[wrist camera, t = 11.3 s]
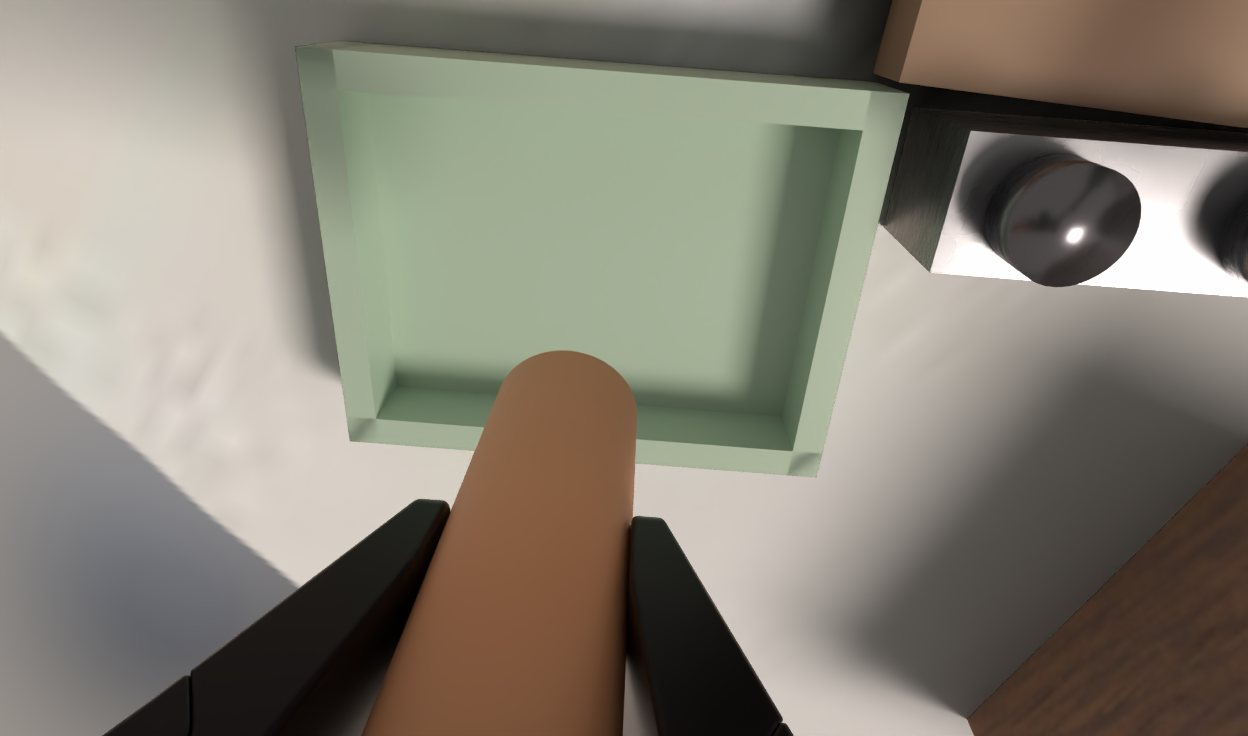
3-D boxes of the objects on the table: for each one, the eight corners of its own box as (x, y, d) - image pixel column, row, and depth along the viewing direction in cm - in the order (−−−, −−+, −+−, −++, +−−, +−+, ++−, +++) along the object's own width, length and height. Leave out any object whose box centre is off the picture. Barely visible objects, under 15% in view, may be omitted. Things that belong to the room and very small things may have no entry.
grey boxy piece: (1280, 135, 17) (1483, 178, 13) (1223, 253, 18) (1389, 326, 14) (913, 107, 17) (996, 141, 13) (883, 226, 18) (950, 292, 14)
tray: (877, 82, 17) (909, 94, 15) (800, 430, 21) (816, 477, 19) (339, 41, 17) (294, 46, 15) (379, 397, 22) (349, 441, 19)
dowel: (642, 356, 11) (609, 1206, 3) (631, 475, 12) (588, 1323, 4) (495, 345, 11) (113, 1165, 3) (497, 465, 12) (217, 1292, 4)
